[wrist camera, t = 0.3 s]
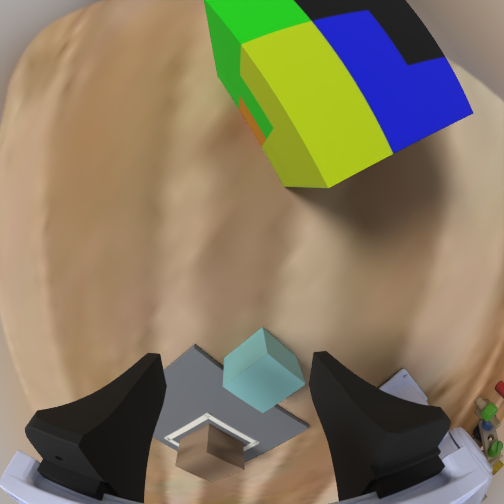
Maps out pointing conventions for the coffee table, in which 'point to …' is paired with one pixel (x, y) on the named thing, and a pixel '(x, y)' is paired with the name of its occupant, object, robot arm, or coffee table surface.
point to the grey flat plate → (217, 408)
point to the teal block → (262, 371)
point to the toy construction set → (489, 431)
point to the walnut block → (210, 454)
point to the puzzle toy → (332, 81)
